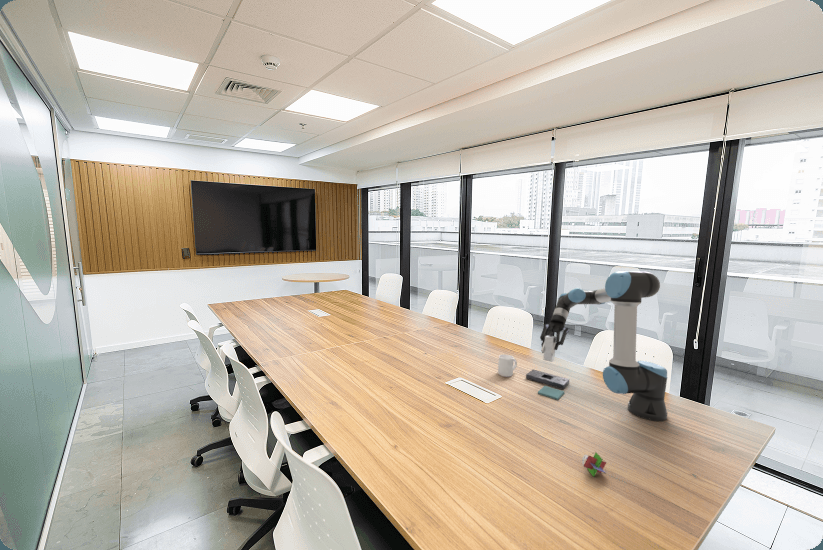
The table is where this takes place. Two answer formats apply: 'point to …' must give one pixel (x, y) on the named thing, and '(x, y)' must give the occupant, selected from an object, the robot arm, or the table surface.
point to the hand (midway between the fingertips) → (547, 353)
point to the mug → (506, 365)
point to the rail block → (547, 379)
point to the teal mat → (551, 392)
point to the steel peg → (549, 348)
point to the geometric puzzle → (594, 464)
